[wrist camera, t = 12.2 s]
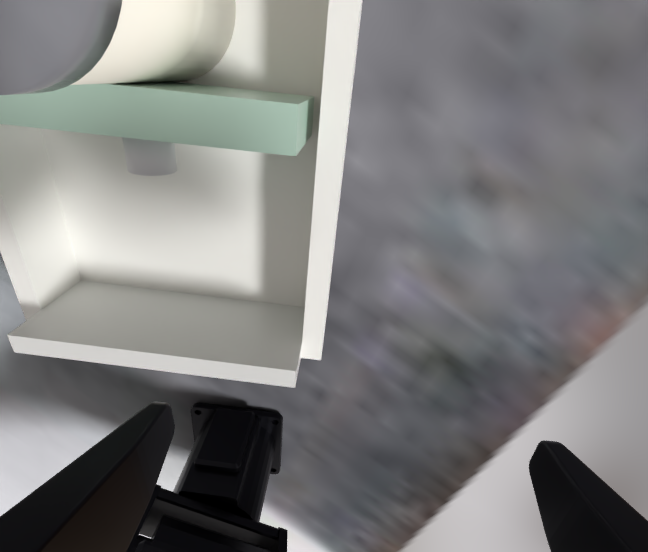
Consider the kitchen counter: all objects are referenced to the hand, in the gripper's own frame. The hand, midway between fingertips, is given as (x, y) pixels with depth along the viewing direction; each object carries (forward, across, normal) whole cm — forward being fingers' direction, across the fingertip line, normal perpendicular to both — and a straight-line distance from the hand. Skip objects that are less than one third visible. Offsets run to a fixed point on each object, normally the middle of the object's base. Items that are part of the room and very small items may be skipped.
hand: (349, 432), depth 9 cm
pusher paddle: (+10, +8, -6) cm, 14 cm away
